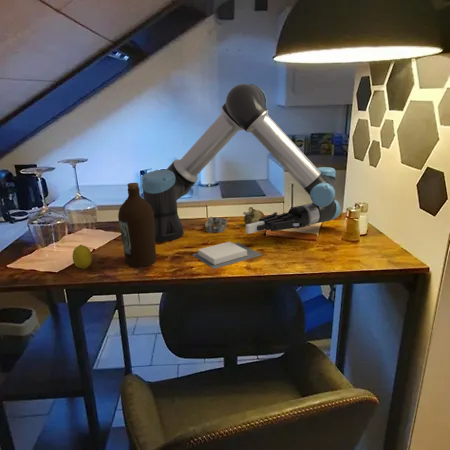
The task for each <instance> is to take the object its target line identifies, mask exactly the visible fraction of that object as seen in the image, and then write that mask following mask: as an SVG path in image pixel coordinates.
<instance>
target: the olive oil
mask: <svg viewBox="0 0 450 450" xmlns="http://www.w3.org/2000/svg"><path fill="white" fill-rule="evenodd" d="M127 194H128V197H127V198H126V199H125V201H123V203H122V204H121V205H120V208H119V209H118V213H117V215H118V216H117V217H118V224H119V230H120V234H121V240H122V241H121V243H122V245H123V247H122V248H123V253H124V259H125V264H126V265H127V266H128V267H131V268H145V267H148V266H151V265H153V264H155V263H156V261H157V255H156V254H157V250H156V242H155V227H154V212H153V209H152V207H151V205H150V204H149V203H148V202H147V201H145V200H144V197H142V196H141V194H140V187H139V182H129V183H127Z"/></svg>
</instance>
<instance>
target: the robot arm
mask: <svg viewBox="0 0 450 450" xmlns="http://www.w3.org/2000/svg"><path fill="white" fill-rule="evenodd" d="M267 102H268V100H267V96H266V93H265V92H264V90H263V89H261V87H259V85H256V84H253V83H249V84H247V83H241V84H237V85H235V86H234V87H232V88H231V89H230V90H229V91H228V93H227V95H226V99H225V103H224V104H222V106H221V114H220V115H219V116H218V117H217V118H216V119H215V121H214V122H213V123H211V125H210V126H209V127H208V128H207V129H206V131H205V132H204V133H203V134H202V135H201V136H200V137H199V138H198V139H197V141H195V143H193V145H192V146H191V147H190V148H189V149H188V151H186V153H185V154H184V155H183V156H182V157H181V158H180V159H177V158H176V159H174V160H173V161H172V163H171V164H170V165H168V167H167V168H166V169H157V170H153V171H152V170H151V171H149V172H147V173H145V174H144V175H143V177H142V180H141V181H142V185H141V186H142V187H141V188H142V195H143V199H144V200H145V201H147V202H148V203H149V204H150V205H151V207H152V209H153V212H154V227H155V243H160V242H170V241H174V240H178V239H180V238H182V237H183V236H184V233H185V232H184V227H183V223H182V222H181V218H180V216H179V215H178V214H179V213H178V202H177V201H178V200H179V199H180V198H182V197H184V196H186V195H187V194H188V193H189V192H190V191H191V189H192V187H193V186H194V185H195V184H196V183H197V182H198V175H199V174H200V173H201V172H202V170H204V169H205V167H206V166H207V165H208V164H210V162H211V161H212V160H214V158H215V157H216V156H217V154H219V152H221V150H222V149H223V148H224V147H226V145H227V144H228V143H229V142H230V141H231V140H232V139H233V137H234V136H235V135H236V134H237V133H238V132H239V131H245V132H246V133H251V134H252V135H253V136H254V137H255V138H256V139H257V141H259V142H260V143H261V145H262V146H263V147H264V148H265V149H266V150H267V151H268V152H269V153H270V154H271V155H272V157H274V159H275V160H276V161H277V162H278V163H279V164H280V166H282V167H283V169H285V170H286V172H287V173H289V175H291V177H292V178H293V179H294V180H295V181H296V182H297V184H298V185H299V186H301V187H302V188H303V190H304V191H305V192H306V193H307V194H308V196H309V198H310V199H311V203H306V204H301V205H297V206H293V207H291V208H289V210H288V212H283V213H280V214H279V213H278V212H273V213H272V214H269V215H265V217H263V218H260V219H259V222H255V223H251V224H247V225H246V224H245V233H246V234H253V233H259V232H262V231H265V230H266V231H270V232H277V231H282V230H283V231H284V230H290V229H301V228H305V227H311V225H317V224H320V223H325V222H330V221H332V220H334V219H337V218H338V217H339V216H340V214H341V210H342V208H341V206H340V203H339V201H338V200H336V199H335V197H336V181H337V180H336V179H337V178H336V177H337V176H336V174H337V172H336V169H335V168H333V167H329V166H327V167H326V166H322V167H320V166H319V167H317V166H315V164H313V162H312V161H311V159H309V158H308V157H307V156H306V155H305V154H304V152H303V151H302V150H301V149H300V148H299V147H298V146H297V145H296V144H295V143H294V142H293V140H291V138H290V137H289V136H288V135H287V134H286V133H285V132H284V131H283V130H282V129H281V127H280V126H279V125H278V124H277V123H276V122H275V121H274V120H273V119H272V118H271V117H270V116H269V110H268V109H267V104H268V103H267Z"/></svg>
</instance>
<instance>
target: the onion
mask: <svg viewBox="0 0 450 450" xmlns="http://www.w3.org/2000/svg"><path fill="white" fill-rule="evenodd" d="M242 214H243V215H244V217H243V221H244V224H245V226H246V225H247V224H251V223H255V222H259V219H260V218H263V217H266V215H265V214H264V213H263V211H261V210H259V209H254V207H251V206H250V207H248V211H244V212H243V213H242Z"/></svg>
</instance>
